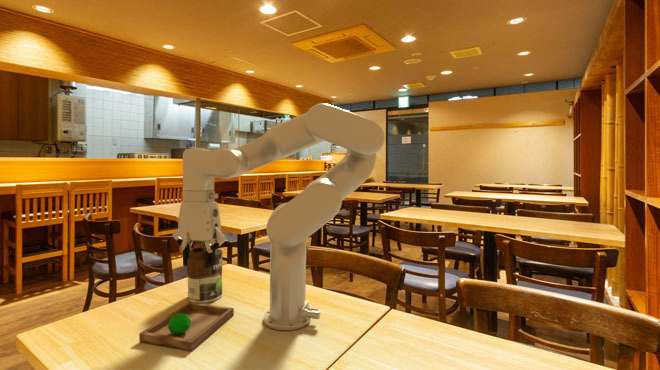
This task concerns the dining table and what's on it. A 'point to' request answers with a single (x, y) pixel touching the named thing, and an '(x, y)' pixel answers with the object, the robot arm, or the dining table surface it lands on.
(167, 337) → the tray
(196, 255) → the utensil holder
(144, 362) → the dining table surface
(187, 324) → the polyhedron
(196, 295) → the coffee can
